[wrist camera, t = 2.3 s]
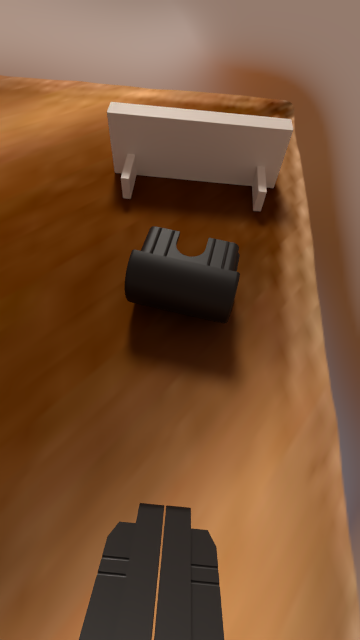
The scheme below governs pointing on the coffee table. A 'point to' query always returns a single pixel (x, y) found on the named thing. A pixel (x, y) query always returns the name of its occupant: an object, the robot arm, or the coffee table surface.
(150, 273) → the end cap
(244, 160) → the white board with feet
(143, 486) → the coffee table surface
